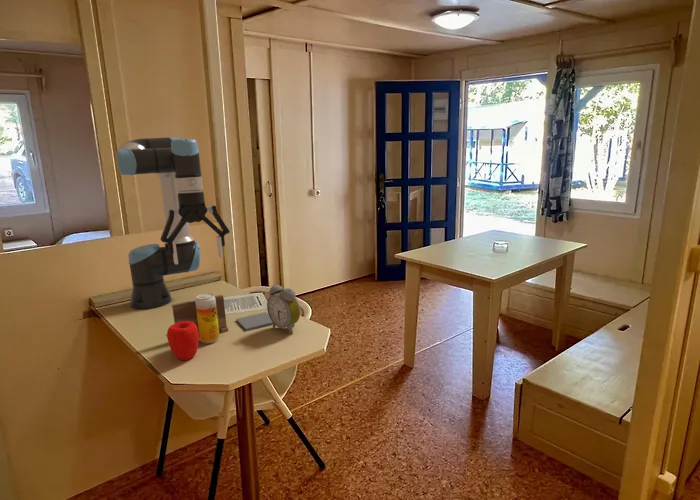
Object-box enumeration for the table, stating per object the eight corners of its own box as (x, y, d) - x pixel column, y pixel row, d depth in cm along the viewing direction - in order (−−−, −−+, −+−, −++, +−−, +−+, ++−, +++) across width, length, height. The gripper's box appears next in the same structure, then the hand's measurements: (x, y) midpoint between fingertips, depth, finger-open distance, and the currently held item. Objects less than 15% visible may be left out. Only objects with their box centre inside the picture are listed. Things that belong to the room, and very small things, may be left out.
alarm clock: (268, 328, 154) (264, 285, 150) (283, 321, 158) (280, 280, 155) (290, 336, 146) (286, 292, 142) (306, 329, 151) (303, 286, 147)
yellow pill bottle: (214, 344, 142) (209, 299, 139) (196, 344, 143) (190, 299, 140) (223, 336, 148) (218, 293, 144) (206, 336, 149) (201, 292, 146)
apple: (177, 350, 139) (173, 317, 137) (205, 350, 139) (201, 317, 136) (165, 364, 130) (160, 329, 128) (195, 364, 130) (190, 328, 128)
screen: (175, 337, 149) (171, 303, 146) (224, 326, 157) (220, 293, 154) (178, 343, 145) (173, 307, 142) (228, 331, 152) (224, 297, 150)
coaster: (236, 320, 161) (236, 318, 161) (265, 314, 166) (265, 311, 166) (246, 331, 152) (245, 328, 152) (277, 323, 157) (276, 321, 157)
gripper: (147, 196, 128) (158, 269, 132) (234, 188, 140) (241, 255, 144) (144, 194, 134) (154, 264, 138) (228, 187, 146) (235, 252, 150)
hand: (199, 260), depth 141 cm, fingers open, 13 cm apart
